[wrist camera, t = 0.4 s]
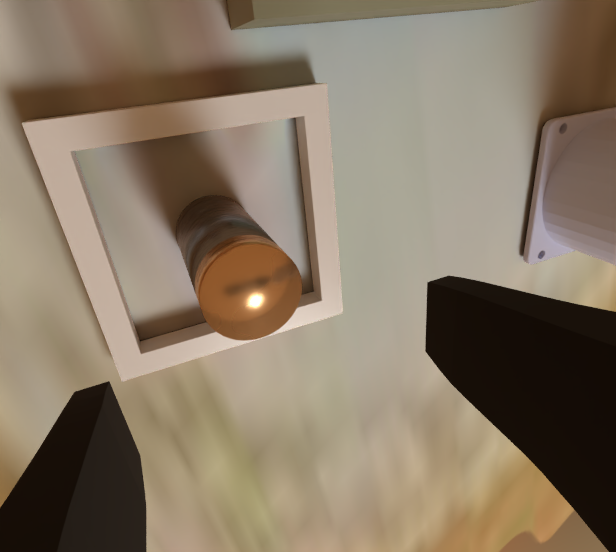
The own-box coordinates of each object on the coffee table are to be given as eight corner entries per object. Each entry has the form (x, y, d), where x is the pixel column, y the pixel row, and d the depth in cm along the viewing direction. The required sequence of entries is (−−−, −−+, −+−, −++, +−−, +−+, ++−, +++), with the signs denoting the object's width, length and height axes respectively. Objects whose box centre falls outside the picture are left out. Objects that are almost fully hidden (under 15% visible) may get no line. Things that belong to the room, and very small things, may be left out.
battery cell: (244, 188, 17) (296, 235, 12) (255, 256, 18) (306, 323, 13) (167, 203, 16) (189, 261, 11) (185, 273, 17) (212, 353, 12)
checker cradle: (316, 83, 16) (326, 83, 15) (333, 303, 21) (343, 312, 20) (27, 120, 13) (21, 122, 13) (122, 367, 18) (122, 381, 17)
